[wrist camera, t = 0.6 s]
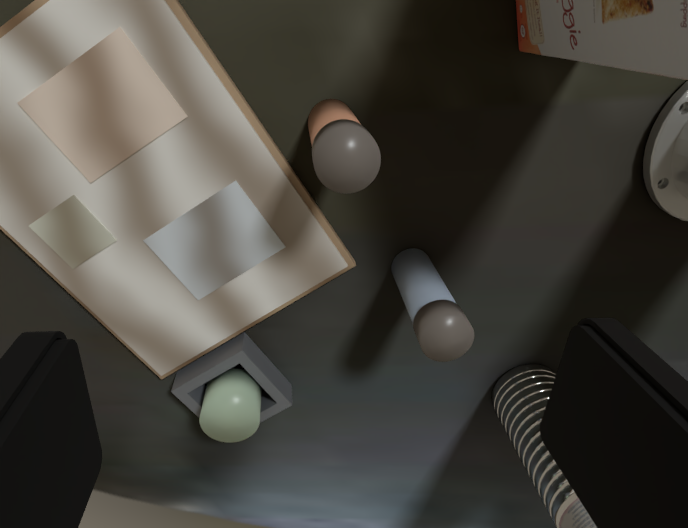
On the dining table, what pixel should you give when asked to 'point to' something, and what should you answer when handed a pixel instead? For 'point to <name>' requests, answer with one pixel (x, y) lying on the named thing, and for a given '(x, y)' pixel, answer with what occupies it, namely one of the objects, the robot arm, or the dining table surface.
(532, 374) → the water bottle
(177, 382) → the button housing
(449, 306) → the slate
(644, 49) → the cracker box
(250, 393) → the button
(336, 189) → the marker terracotta
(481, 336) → the dining table surface
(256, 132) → the worksheet
